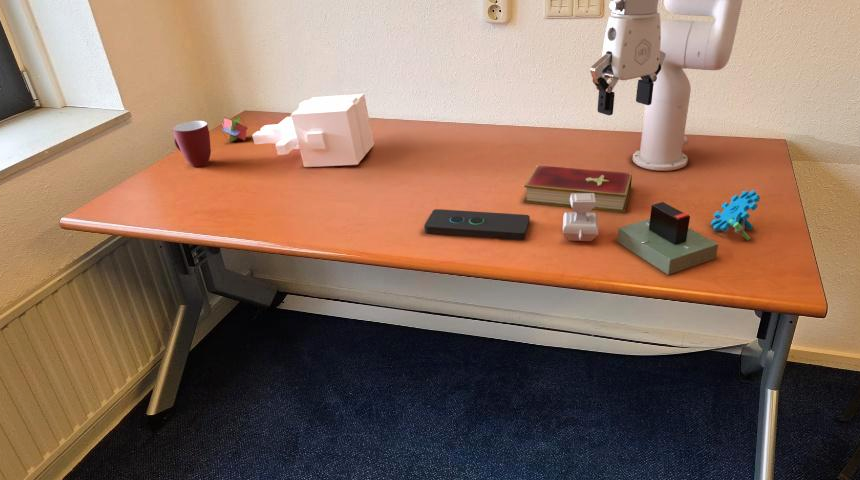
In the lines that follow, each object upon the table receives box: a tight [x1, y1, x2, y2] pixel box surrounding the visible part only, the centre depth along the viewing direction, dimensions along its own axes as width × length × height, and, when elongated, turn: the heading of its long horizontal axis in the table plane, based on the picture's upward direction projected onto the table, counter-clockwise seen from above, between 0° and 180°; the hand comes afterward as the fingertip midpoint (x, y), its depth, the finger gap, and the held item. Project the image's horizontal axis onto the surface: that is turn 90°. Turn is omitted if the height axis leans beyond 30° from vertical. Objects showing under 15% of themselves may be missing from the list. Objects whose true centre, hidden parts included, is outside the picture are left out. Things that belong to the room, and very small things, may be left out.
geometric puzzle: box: [220, 115, 249, 144], centre depth 180 cm, size 7×7×8 cm
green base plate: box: [616, 218, 719, 276], centre depth 120 cm, size 14×11×3 cm
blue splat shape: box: [710, 189, 761, 241], centre depth 125 cm, size 11×6×10 cm
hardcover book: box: [523, 164, 633, 213], centre depth 142 cm, size 12×21×4 cm, turn 72°
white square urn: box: [562, 193, 599, 242], centre depth 125 cm, size 9×7×8 cm
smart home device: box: [423, 208, 531, 241], centre depth 131 cm, size 8×2×20 cm
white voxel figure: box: [251, 93, 375, 168], centre depth 165 cm, size 15×25×28 cm
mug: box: [172, 120, 212, 168], centre depth 165 cm, size 11×8×10 cm
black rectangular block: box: [649, 201, 691, 245], centre depth 118 cm, size 7×3×5 cm, turn 27°
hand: (624, 108), depth 118 cm, fingers open, 9 cm apart
